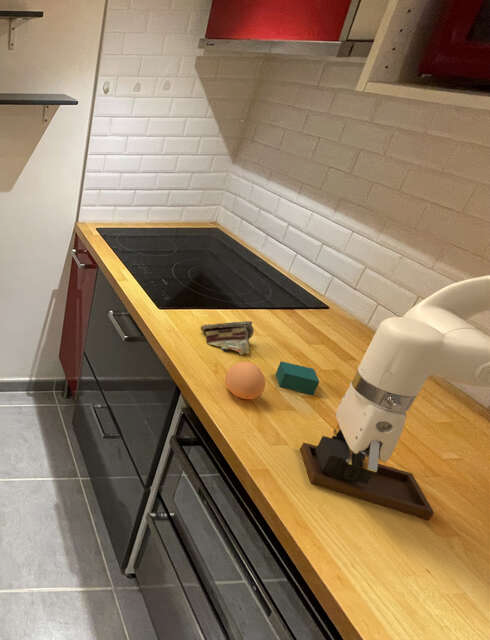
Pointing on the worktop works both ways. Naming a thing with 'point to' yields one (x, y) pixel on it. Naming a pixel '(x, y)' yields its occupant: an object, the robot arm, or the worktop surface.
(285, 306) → the worktop surface
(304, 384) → the teal block
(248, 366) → the egg
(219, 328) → the chocolate cake
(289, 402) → the worktop surface
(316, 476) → the backing tray
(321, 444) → the black rectangular block
